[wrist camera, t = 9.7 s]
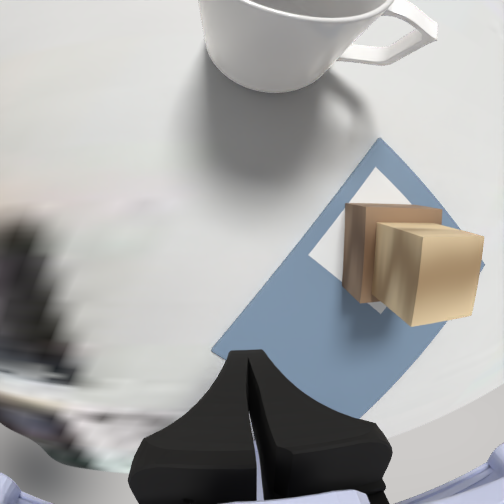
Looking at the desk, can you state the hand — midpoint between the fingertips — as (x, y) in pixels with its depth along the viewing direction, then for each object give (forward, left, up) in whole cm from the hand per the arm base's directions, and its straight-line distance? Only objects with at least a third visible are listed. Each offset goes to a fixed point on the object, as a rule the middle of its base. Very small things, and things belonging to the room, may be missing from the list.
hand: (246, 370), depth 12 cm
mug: (+16, +8, -11) cm, 20 cm away
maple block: (+9, -6, -6) cm, 13 cm away
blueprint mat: (+5, -9, -10) cm, 15 cm away
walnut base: (+9, -6, -10) cm, 15 cm away
